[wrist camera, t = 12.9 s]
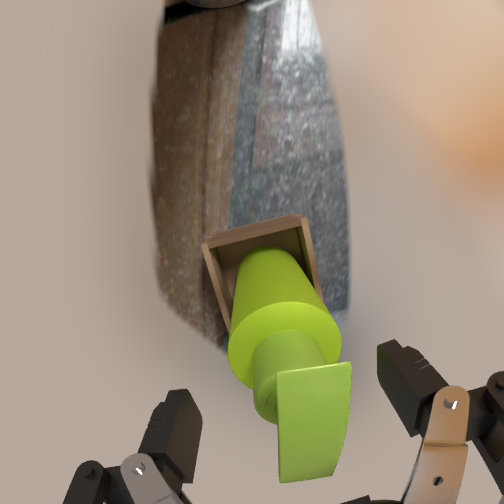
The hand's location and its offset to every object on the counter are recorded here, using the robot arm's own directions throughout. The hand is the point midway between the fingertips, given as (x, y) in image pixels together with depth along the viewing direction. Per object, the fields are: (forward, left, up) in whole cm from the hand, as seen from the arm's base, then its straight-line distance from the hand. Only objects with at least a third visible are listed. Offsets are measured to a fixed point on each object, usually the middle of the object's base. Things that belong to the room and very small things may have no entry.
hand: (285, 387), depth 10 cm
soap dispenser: (0, 0, -16) cm, 16 cm away
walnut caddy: (0, 0, -17) cm, 17 cm away
